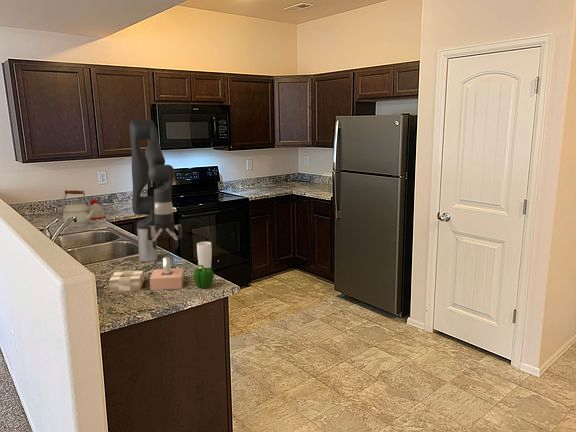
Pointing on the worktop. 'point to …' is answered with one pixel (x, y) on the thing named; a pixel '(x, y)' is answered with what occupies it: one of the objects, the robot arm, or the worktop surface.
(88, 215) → the kettle
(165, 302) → the worktop surface
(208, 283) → the bell pepper
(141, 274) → the mount block
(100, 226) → the worktop surface
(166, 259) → the lock pin
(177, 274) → the dock block
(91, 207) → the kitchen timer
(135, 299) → the worktop surface
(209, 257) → the drinking glass
